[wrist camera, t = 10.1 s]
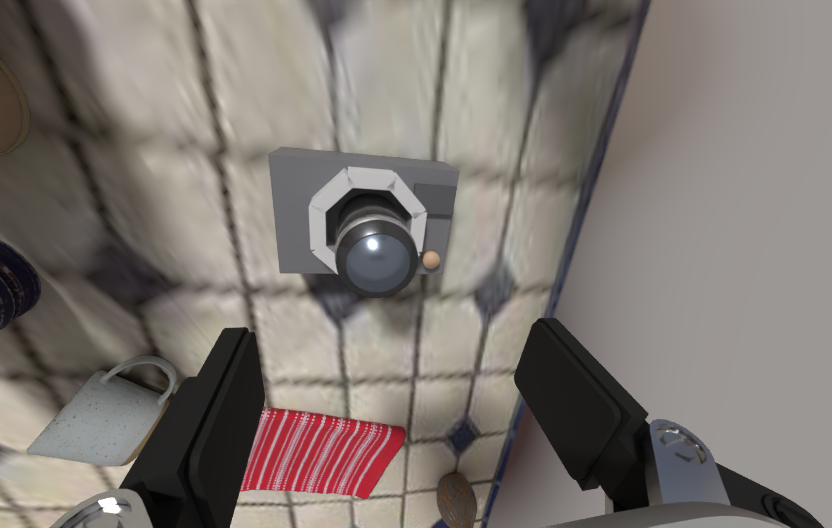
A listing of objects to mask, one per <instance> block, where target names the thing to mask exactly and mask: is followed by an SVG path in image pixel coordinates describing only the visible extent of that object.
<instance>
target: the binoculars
mask: <svg viewBox="0 0 832 528" xmlns="http://www.w3.org/2000/svg"><path fill="white" fill-rule="evenodd" d="M29 130H30V110H29V106H28V103H27V99H26V96H25V94H24V92H23V90H22V88H21V86H20V85H19V83H18V81H17V79H16V77H15V76H14V75H13V73H12V72H11V71H10V70H9V69H8V67H7V66H6V65H5V64H4V62H3V61H2V60H1V59H0V155H2V154H5V153H8V152H11V151H13V150H14V149H15V148H17V147H18V146H19V145H20V144H22V143H23V142H24V140H25V138H26V136H27V134H28V132H29Z"/></svg>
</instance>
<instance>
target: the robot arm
mask: <svg viewBox="0 0 832 528" xmlns="http://www.w3.org/2000/svg"><path fill="white" fill-rule="evenodd" d="M514 381H515V384H516V386H517V388H518V389H519V391H520V393H521V394H522V396H523V398H524V399H525V401H526V403H527V404H528V406H529V408H530V409H531V411H532V413H533V415H534V416H535V418H536V420H537V421H538V423H539V425H540V426H541V428H542V430H543V431H544V433H545V435H546V436H547V438H548V440H549V441H550V443H551V445H552V447H553V448H554V450H555V451H556V453H557V455H558V457H559V458H560V460H561V461H562V463H563V465H564V467H565V468H566V470H567V471H568V473H569V475H570V476H571V477H572V478H573V479H574V480H576V481H577V482H578V484H579V486H580V488H581V489H582V491H585V490H590V489H596V488H598V487H599V485H601V487H602V489H603V490H604V492H605V515H601V516H596V517H591V518H586V519H581V520H577V521H571V522H567V523H562V524H557V525H552V526H547V527H542V528H824V527H823V526H822V525H821V524H820V523H819V522H818V521H817V520H816V519H815V518H814V517H813V516H812V515H811V514H810V513H808V512H807V511H806V510H805V509H803V508H802V507H800V506H799V505H797V504H796V503H794V502H793V501H791V500H789V499H787V498H786V497H784V496H782V495H780V494H778V493H776V492H774V491H772V490H770V489H768V488H766V487H764V486H762V485H760V484H758V483H756V482H754V481H752V480H750V479H748V478H746V477H743V476H742V475H740V474H738V473H736V472H734V471H732V470H730V469H728V468H726V467H724V466H722V465H720V464H718V463H716V462H715V461H714V458H713V456H712V454H711V452H710V450H709V449H708V448H707V447H706V445H705V444H704V443H703V442H702V441H701V440H700V439H699V438H698V437H697V436H695V435H694V434H693V433H692V432H690V431H689V430H687V429H686V428H684V427H682V426H680V425H678V424H676V423H674V422H671V421H668V420H664V419H656V420H653V421H652V422H651V423H650V425H649V424H648V423H647V422H646V421H645V419H646V417H647V416H648V413H647V412H646V411H645V410H644V409H643V407H642V406H641V405H640V404H639V403H638V402H637V401H636V400H635V399H634V398H633V397H632V396H631V395H630V394H629V393H628V392H627V391H626V390H625V389H624V388H623V387H622V386H621V385H620V384H619V383H618V382H617V381H616V380H615V379H614V377H613V376H611V374H610V373H609V372H608V371H607V370H606V369H605V368H604V367H603V366H602V365H601V364H600V363H599V362H598V361H597V360H596V359H595V358H594V357H593V356H592V355H591V354H590V353H589V352H588V351H587V350H586V349H585V348H584V347H583V345H581V343H579V341H578V340H577V339H576V338H575V337H574V336H573V335H572V334H571V333H570V332H569V331H568V330H567V329H566V328H565V327H564V326H563V325H562V324H561V323H560V322H559V321H558V320H557V319H556V318H539V319H538V320H537V321H536V322H535V323H533V325H532V327H531V330H530V333H529V336H528V338H527V341H526V344H525V347H524V349H523V352H522V355H521V358H520V361H519V363H518V366H517V369H516V372H515V375H514ZM264 402H265V392H264V386H263V380H262V373H261V367H260V361H259V354H258V348H257V342H256V336H255V333H254V332H249V331H248V328H246V327H241V328H225V329H223V331H222V332H221V334H220V336H219V338H218V339H217V341H216V343H215V345H214V347H213V348H212V350H211V352H210V354H209V356H208V357H207V359H206V361H205V363H204V365H203V366H202V368H201V370H200V372H199V373H198V375H197V377H188V378H186V379H185V380H184V381H183V383H182V384H181V385H180V387H179V389H178V390H177V392H176V394H175V395H174V397H173V399H172V400H171V402H170V404H169V405H168V407H167V409H166V410H165V412H164V414H163V415H162V417H161V419H160V420H159V422H158V424H157V425H156V427H155V429H154V430H153V432H152V434H151V435H150V437H149V439H148V440H147V442H146V444H145V445H144V447H143V449H142V450H141V452H140V454H139V455H138V457H137V459H136V460H135V462H134V464H133V465H132V467H131V469H130V470H129V472H128V474H127V475H126V477H125V479H124V480H123V482H122V484H121V485H120V487H119V489H113V490H110V491H106V492H103V493H100V494H97V495H95V496H93V497H91V498H89V499H87V500H85V501H83V502H81V503H80V504H78V505H77V506H75V507H74V508H72V509H71V510H70V511H68V512H67V513H65V514H64V515H63V516H62V517H61V518H60V519H58V520H57V521H56V522H55V523H54V524H53V525H52V526H51V527H50V528H230V524H231V521H232V517H233V514H234V510H235V506H236V503H237V499H238V496H239V492H240V489H241V485H242V482H243V478H244V475H245V471H246V467H247V464H248V460H249V457H250V453H251V450H252V446H253V443H254V439H255V436H256V432H257V429H258V425H259V421H260V418H261V414H262V411H263V407H264Z"/></svg>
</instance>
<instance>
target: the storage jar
mask: <svg viewBox="0 0 832 528" xmlns="http://www.w3.org/2000/svg"><path fill="white" fill-rule="evenodd" d="M40 293H41V285H40V281H39V278H38V276H37V274H36V272H35V270H34V269H33V267H32V266H31V265H30V263H29V262H28V261H27V260H26V259H25V258H24V257H23V256H22V255H21V254H19V253H18V252H17V251H16V250H14V249H13V248H12V247H10V246H9V245H7V244H6V243H4V242H2V241H0V330H1V329H3V328H4V327H6V326H7V324H8V323H10V322H11V321H13V320H14V319H15V318H16V317H19V316H21V315H22V314H24V313H26V312H27V311H29V310H30V309H31V308H33V306H34V305H35V304H36V303H37V301H38V300H39V298H40Z"/></svg>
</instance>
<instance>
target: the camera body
mask: <svg viewBox="0 0 832 528" xmlns="http://www.w3.org/2000/svg"><path fill="white" fill-rule="evenodd" d="M268 155H269V165H270V176H271V186H272V196H273V207H274V217H275V228H276V238H277V248H278V259H279V269H280V273H322V274H338V273H337V268H336V264H335V246H336V242H337V235H338V219H339V214H340V211H341V209H342V207H343V206H344V204H345V203H346V202H347V201H348V200H349V199H351V198H352V197H354V196H356V195H359V194H363V193H375V194H378V195H381V196H383V197H385V198H387V199H388V200H389V201H390V202H391V203H392V204H393V205H394V207H395V209H396V210H397V212H398V214H399V216H400V218H401V220H402V222H403V223H404V225H405V227H406V228H407V229H408V230H409V232H410V233H411V235H412V237H413V239H414V241H415V244H416V248H417V252H418V266H417V270H416V273H415V274H442V271H443V265H444V259H445V253H446V247H447V241H448V235H449V230H450V224H451V218H452V213H453V207H454V201H455V196H456V190H457V182H458V177H459V170H457V169H455V168H453V167H452V166H450V165H448V164H446V163H444V162H439V161H428V160H417V159H406V158H396V157H385V156H374V155H363V154H353V153H342V152H331V151H320V150H310V149H299V148H288V147H280V148H279V149H277V150H275V151H273V152H271V153H270V154H268Z"/></svg>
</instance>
